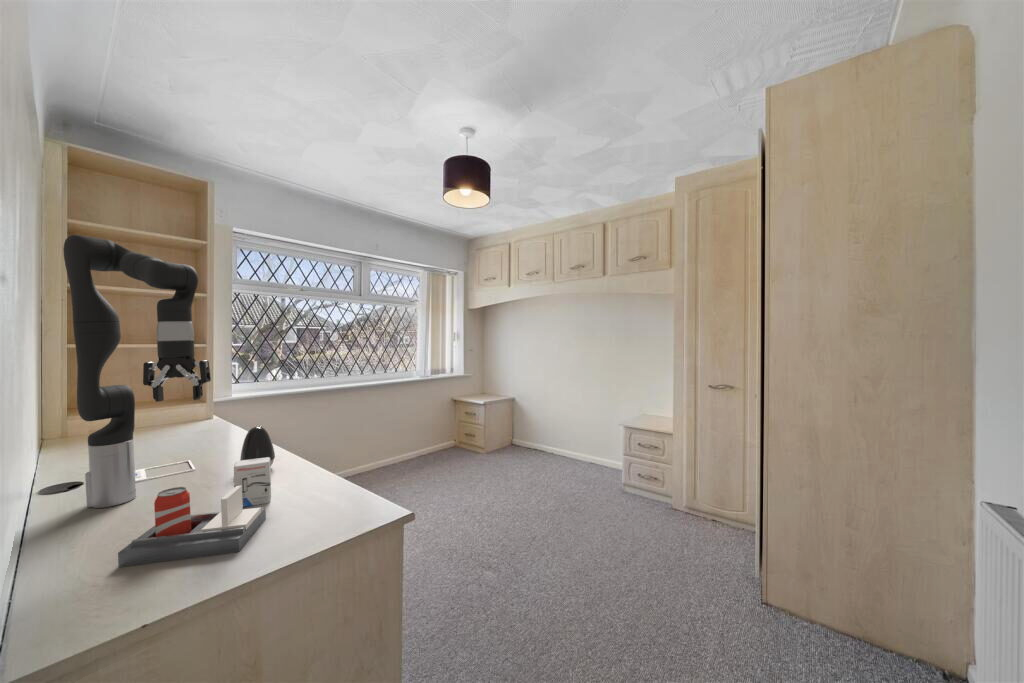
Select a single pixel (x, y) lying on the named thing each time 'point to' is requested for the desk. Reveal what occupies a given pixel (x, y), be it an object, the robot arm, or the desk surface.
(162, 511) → the beverage can
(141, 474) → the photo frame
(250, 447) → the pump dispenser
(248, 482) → the ink box
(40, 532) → the desk surface
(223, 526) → the t-shaped bracket
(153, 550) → the socket plate
